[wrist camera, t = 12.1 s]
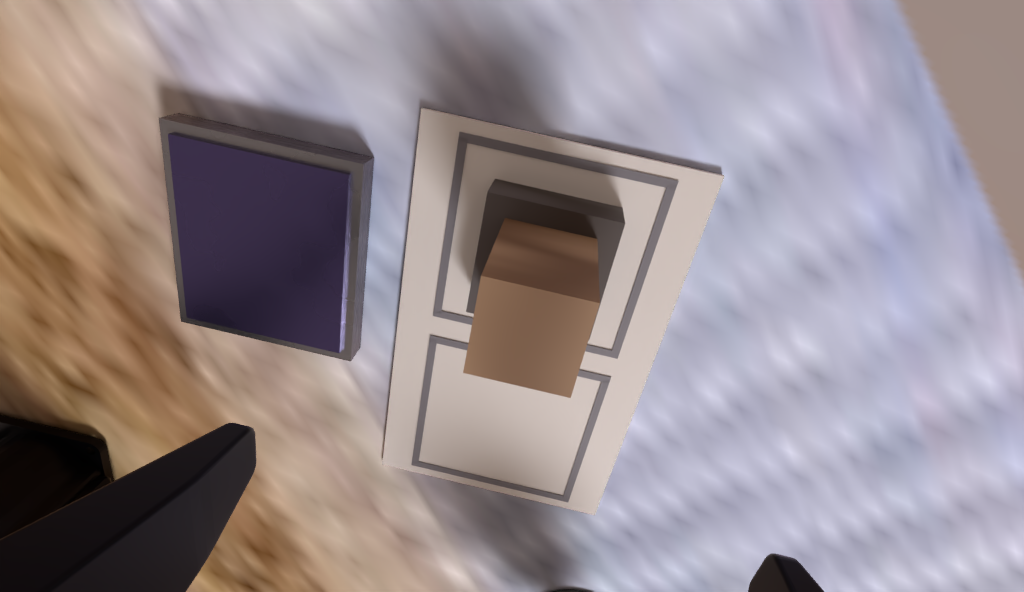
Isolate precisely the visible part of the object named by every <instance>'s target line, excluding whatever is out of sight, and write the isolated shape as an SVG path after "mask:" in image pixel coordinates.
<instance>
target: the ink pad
mask: <svg viewBox="0 0 1024 592" xmlns="http://www.w3.org/2000/svg"><path fill="white" fill-rule="evenodd" d="M159 123H160V132H161V141H162V150H163V159H164V169H165V178H166V187H167V196H168V205H169V215H170V224H171V233H172V242H173V251H174V261H175V270H176V279H177V288H178V297H179V307H180V316H181V322H186V323H190V324H194V325H198V326H203V327H207V328H211V329H215V330H220V331H224V332H228V333H233V334H237V335H241V336H245V337H250V338H254V339H258V340H262V341H267V342H271V343H275V344H279V345H284V346H288V347H292V348H296V349H301V350H305V351H309V352H313V353H318V354H322V355H326V356H330V357H335V358H339V359H343V360H348V361H351V360H352V359H353V357H354V356H355V354H356V353H357V352H358V350H359V349H360V342H361V328H362V315H363V301H364V288H365V274H366V260H367V247H368V233H369V220H370V206H371V192H372V179H373V165H374V157H370V156H365V155H361V154H356V153H352V152H347V151H343V150H339V149H334V148H330V147H325V146H321V145H317V144H312V143H308V142H303V141H299V140H294V139H290V138H286V137H281V136H277V135H272V134H268V133H264V132H259V131H255V130H250V129H246V128H241V127H237V126H233V125H228V124H224V123H219V122H215V121H211V120H206V119H202V118H197V117H193V116H188V115H184V114H180V113H178V114H174V115H170V116H166V117H161V118H159Z"/></svg>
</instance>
